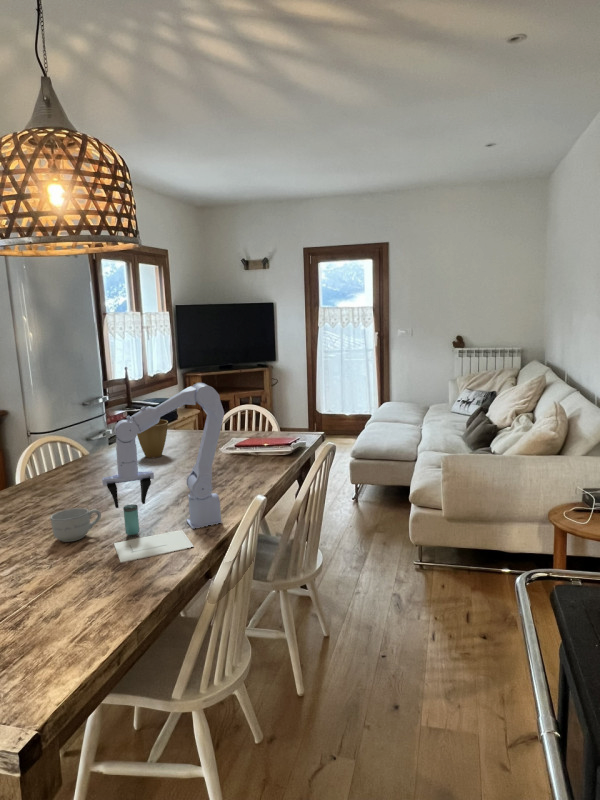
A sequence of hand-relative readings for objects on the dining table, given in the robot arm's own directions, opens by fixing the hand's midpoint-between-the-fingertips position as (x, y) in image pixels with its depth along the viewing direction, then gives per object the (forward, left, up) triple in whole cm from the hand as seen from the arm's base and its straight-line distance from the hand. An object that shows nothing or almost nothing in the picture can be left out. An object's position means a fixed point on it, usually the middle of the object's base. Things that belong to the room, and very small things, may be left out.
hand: (130, 504), depth 167 cm
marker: (0, 0, -10) cm, 10 cm away
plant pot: (-24, -93, -10) cm, 97 cm away
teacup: (+15, -7, -10) cm, 19 cm away
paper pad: (-4, +11, -10) cm, 15 cm away
